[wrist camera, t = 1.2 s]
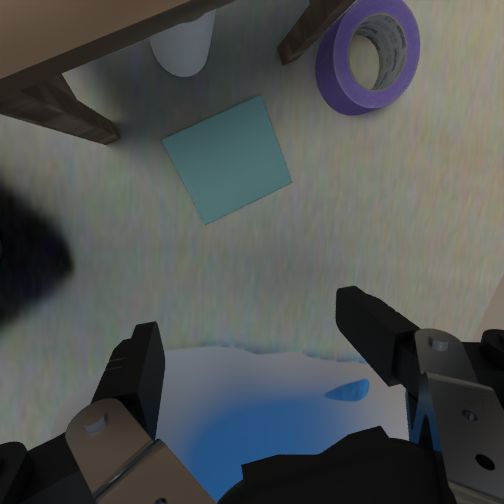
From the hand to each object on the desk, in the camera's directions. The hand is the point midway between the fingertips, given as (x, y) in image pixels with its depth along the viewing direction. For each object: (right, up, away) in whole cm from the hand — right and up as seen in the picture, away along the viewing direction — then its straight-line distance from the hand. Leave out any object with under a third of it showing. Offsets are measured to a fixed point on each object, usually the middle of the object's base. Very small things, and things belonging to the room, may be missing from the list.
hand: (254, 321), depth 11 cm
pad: (-3, +15, +24) cm, 29 cm away
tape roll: (+14, +28, +25) cm, 40 cm away
